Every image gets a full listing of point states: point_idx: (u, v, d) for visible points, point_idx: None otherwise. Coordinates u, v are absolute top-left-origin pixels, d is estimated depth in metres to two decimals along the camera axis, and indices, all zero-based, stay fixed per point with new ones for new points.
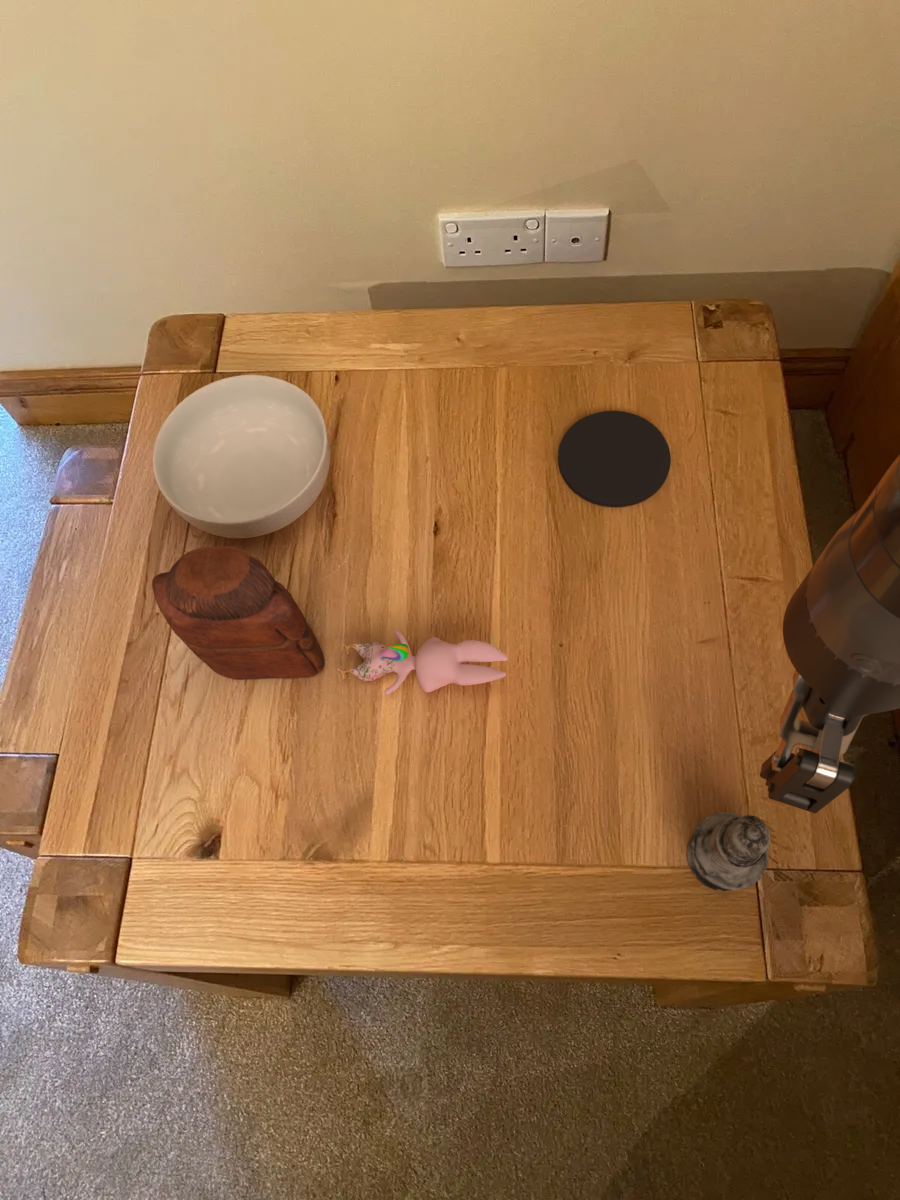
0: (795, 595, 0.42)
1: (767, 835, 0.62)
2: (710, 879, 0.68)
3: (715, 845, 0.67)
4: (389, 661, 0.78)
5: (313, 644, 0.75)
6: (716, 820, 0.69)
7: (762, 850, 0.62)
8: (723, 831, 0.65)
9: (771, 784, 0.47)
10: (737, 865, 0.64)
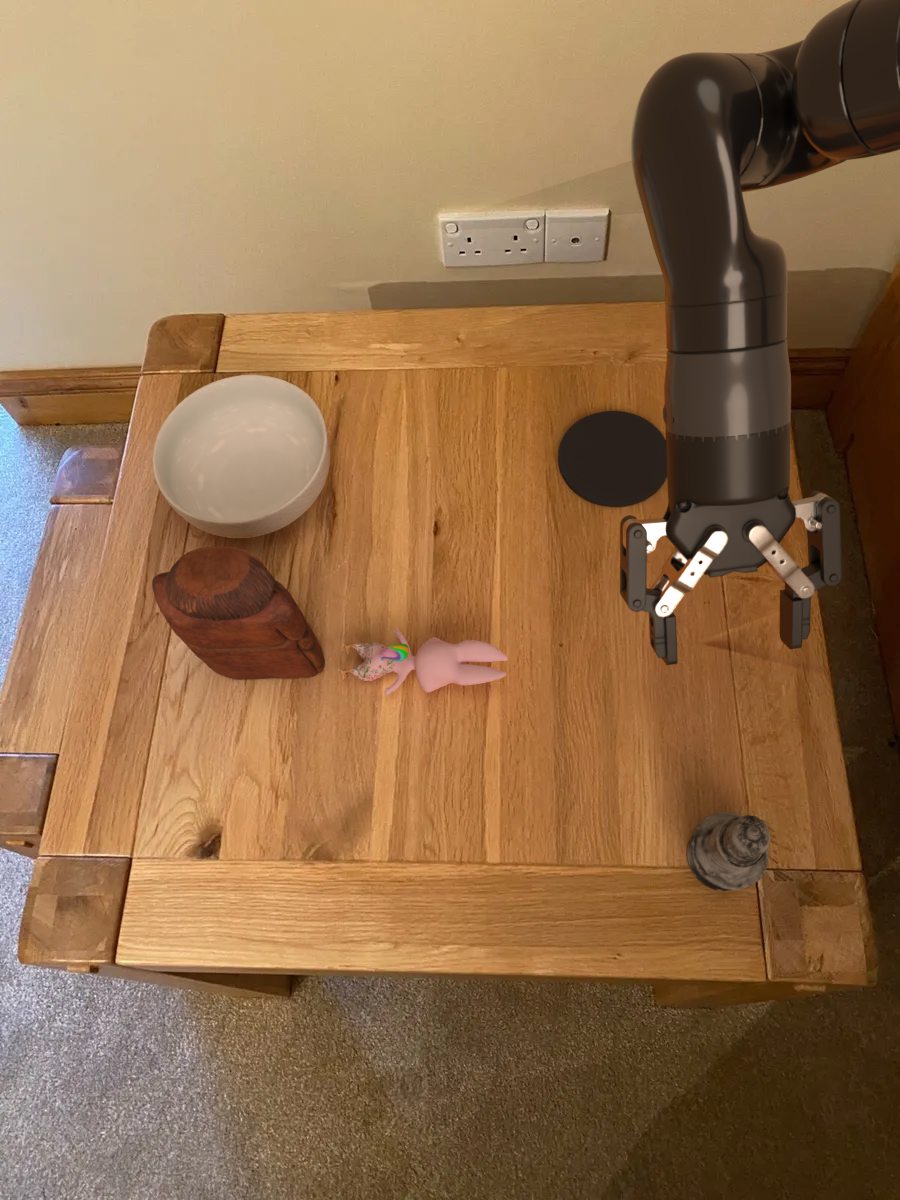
0: None
1: (767, 835, 0.62)
2: (710, 879, 0.68)
3: (715, 845, 0.67)
4: (389, 661, 0.78)
5: (313, 644, 0.75)
6: (716, 820, 0.69)
7: (762, 850, 0.62)
8: (723, 831, 0.65)
9: None
10: (737, 865, 0.64)
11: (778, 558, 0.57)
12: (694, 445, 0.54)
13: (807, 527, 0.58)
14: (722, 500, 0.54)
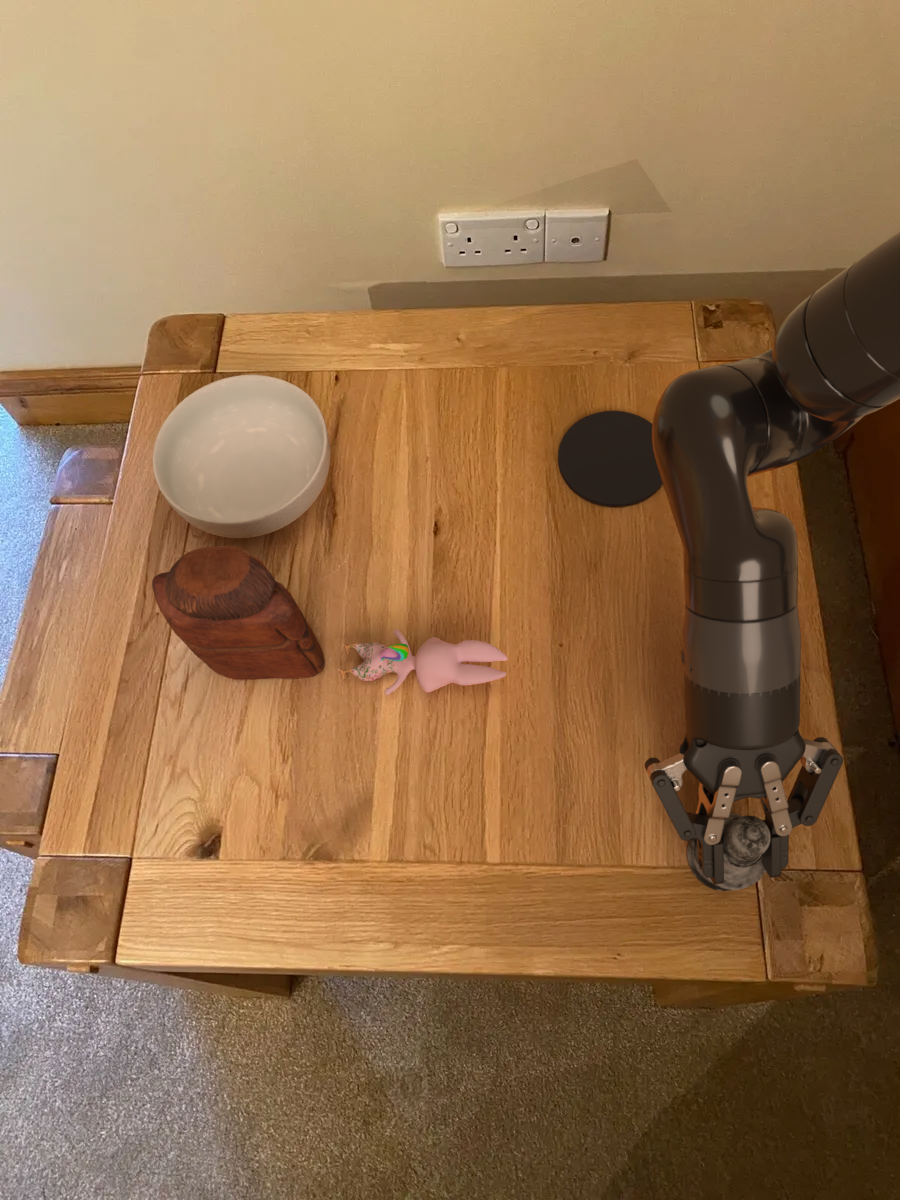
0: None
1: (767, 835, 0.62)
2: (710, 879, 0.68)
3: None
4: (389, 661, 0.78)
5: (313, 644, 0.75)
6: None
7: (762, 850, 0.62)
8: (723, 831, 0.65)
9: None
10: (737, 865, 0.64)
11: (775, 795, 0.61)
12: (710, 696, 0.58)
13: (806, 767, 0.62)
14: (736, 746, 0.58)
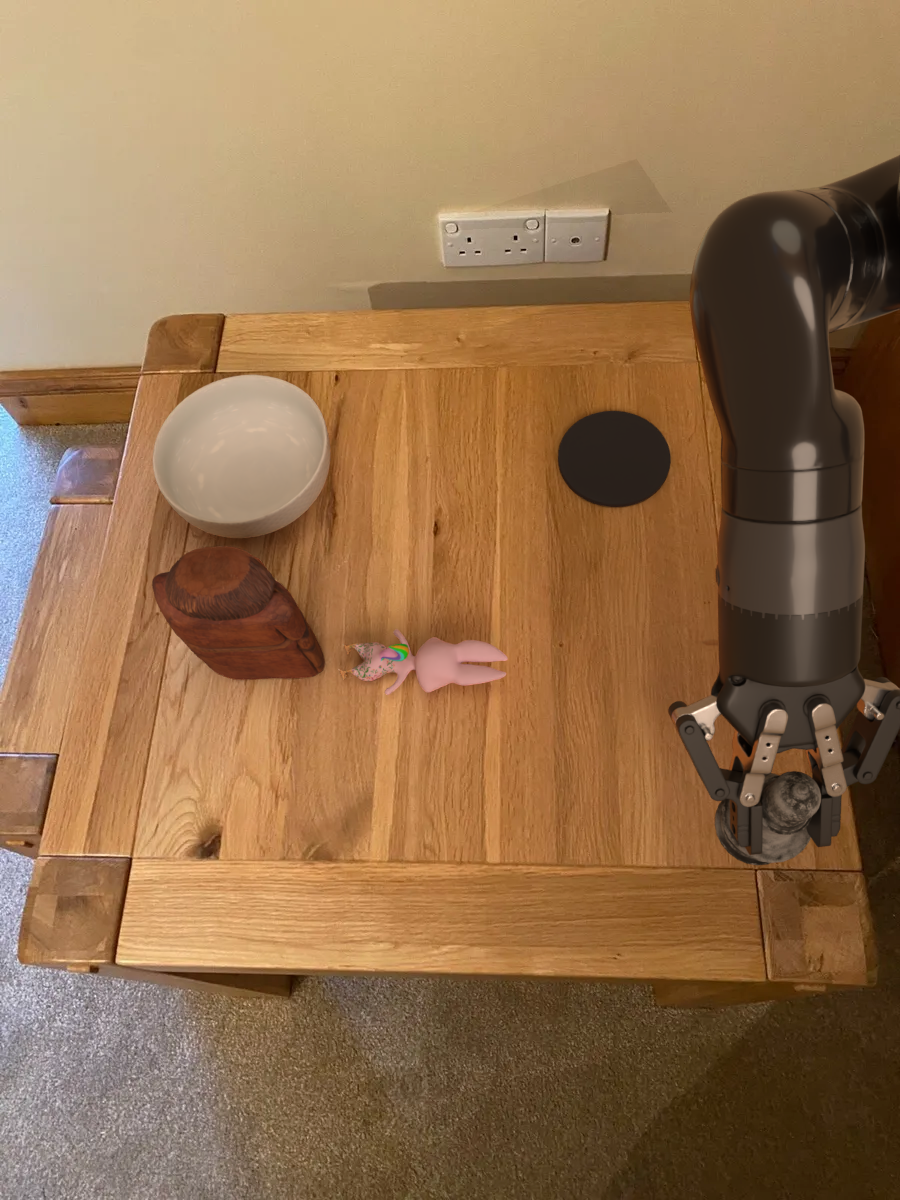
0: None
1: (817, 794, 0.51)
2: (744, 850, 0.57)
3: None
4: (389, 661, 0.78)
5: (313, 644, 0.75)
6: None
7: (811, 812, 0.51)
8: None
9: None
10: (778, 832, 0.54)
11: (828, 745, 0.51)
12: (753, 620, 0.47)
13: (865, 712, 0.51)
14: (784, 682, 0.47)
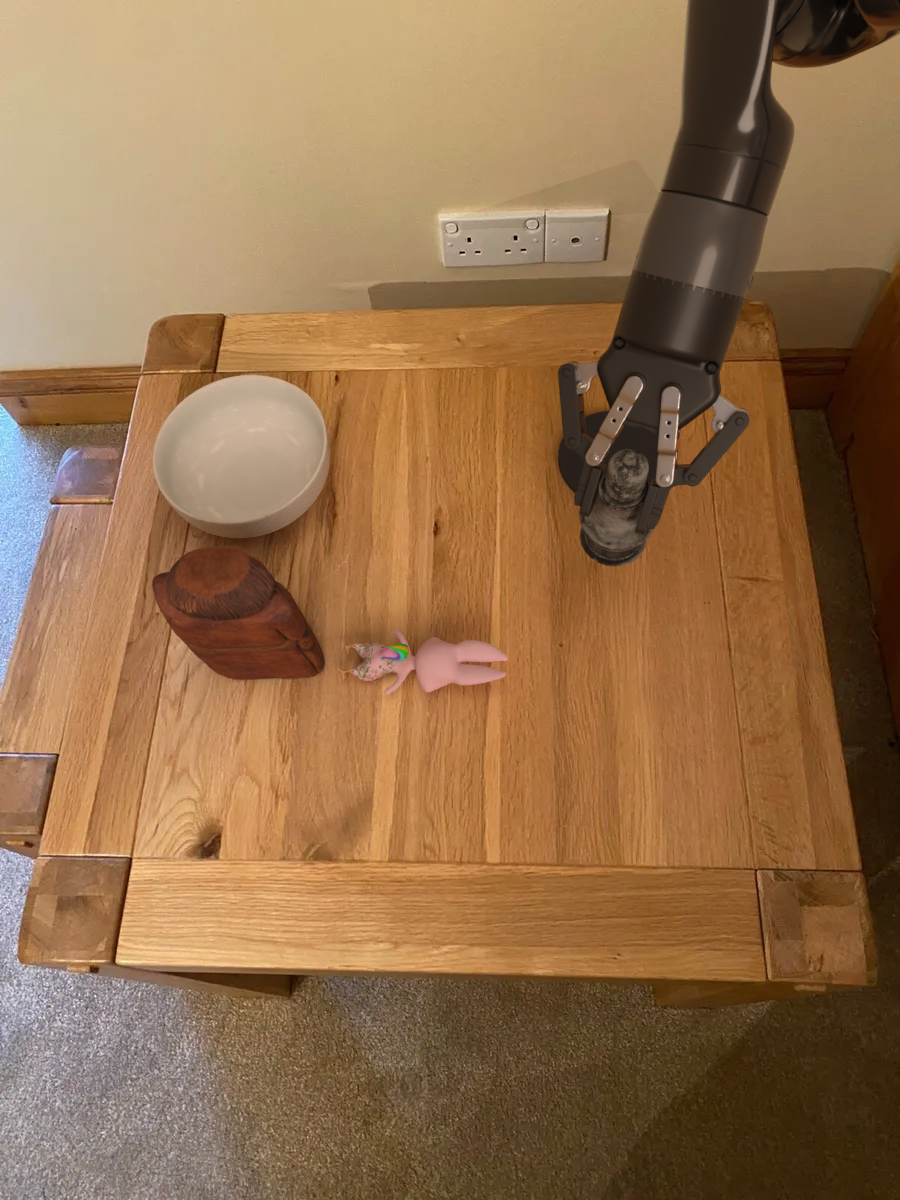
0: None
1: (642, 469, 0.60)
2: (584, 527, 0.67)
3: None
4: (389, 661, 0.78)
5: (313, 644, 0.75)
6: None
7: (630, 479, 0.60)
8: None
9: None
10: (607, 503, 0.63)
11: (668, 430, 0.60)
12: (640, 280, 0.57)
13: (712, 423, 0.60)
14: (642, 340, 0.57)
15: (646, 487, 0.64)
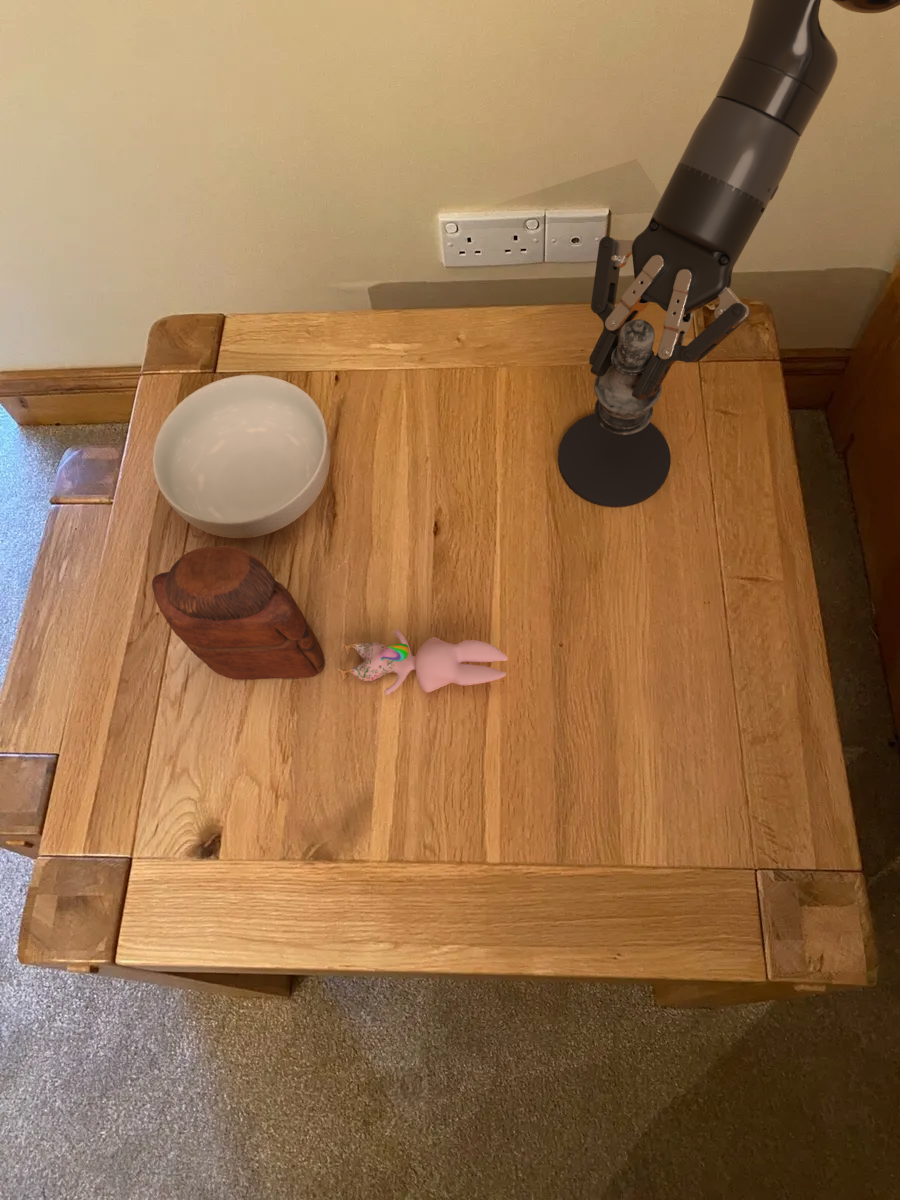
0: None
1: (647, 337, 0.71)
2: (596, 390, 0.78)
3: None
4: (389, 661, 0.78)
5: (313, 644, 0.75)
6: None
7: (634, 343, 0.71)
8: None
9: None
10: (615, 365, 0.74)
11: (675, 308, 0.70)
12: (678, 170, 0.67)
13: (715, 310, 0.69)
14: (667, 221, 0.67)
15: None
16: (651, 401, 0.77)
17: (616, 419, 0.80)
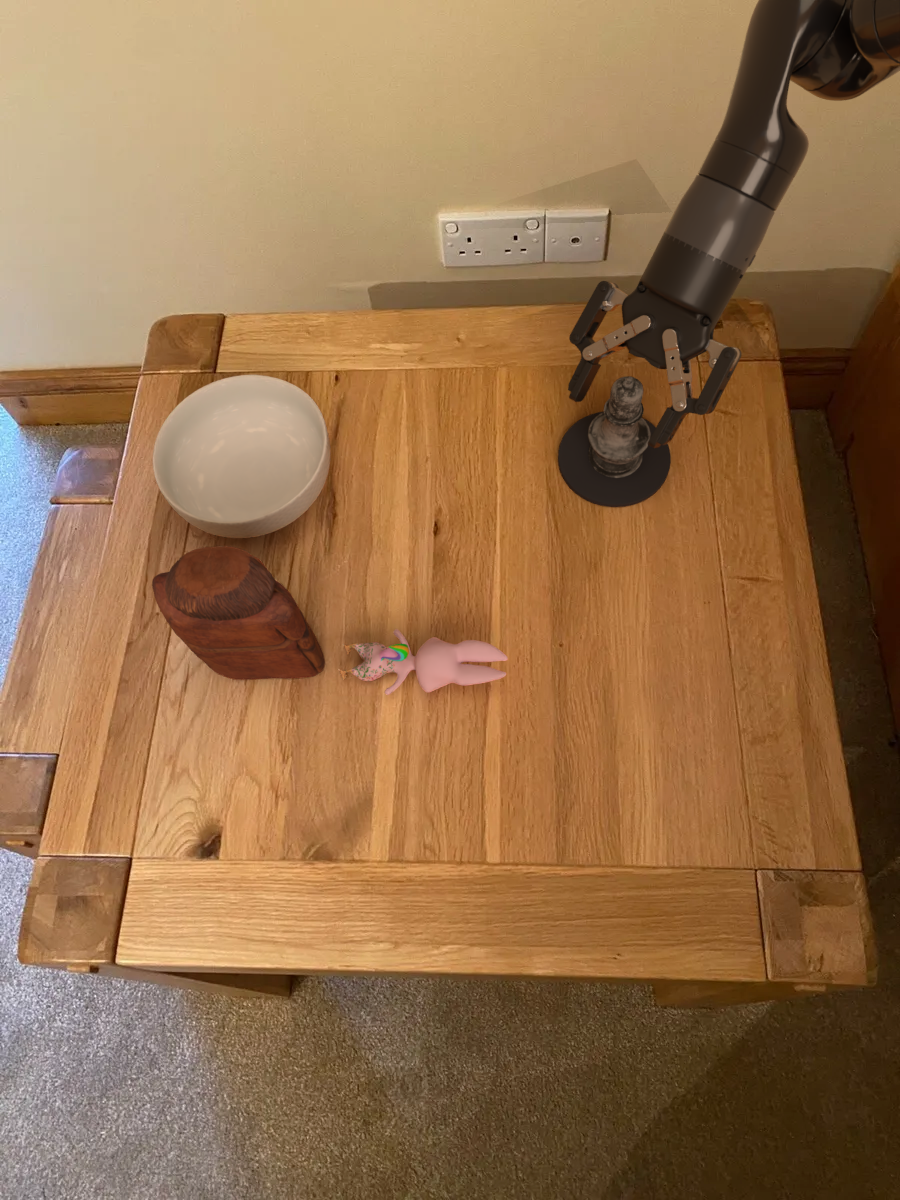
0: None
1: (636, 393, 0.77)
2: (590, 437, 0.84)
3: None
4: (389, 661, 0.78)
5: (313, 644, 0.75)
6: None
7: (624, 398, 0.77)
8: None
9: None
10: (607, 417, 0.80)
11: (673, 364, 0.75)
12: (664, 240, 0.73)
13: (709, 362, 0.75)
14: (654, 286, 0.73)
15: (641, 412, 0.80)
16: (640, 448, 0.83)
17: (608, 463, 0.87)
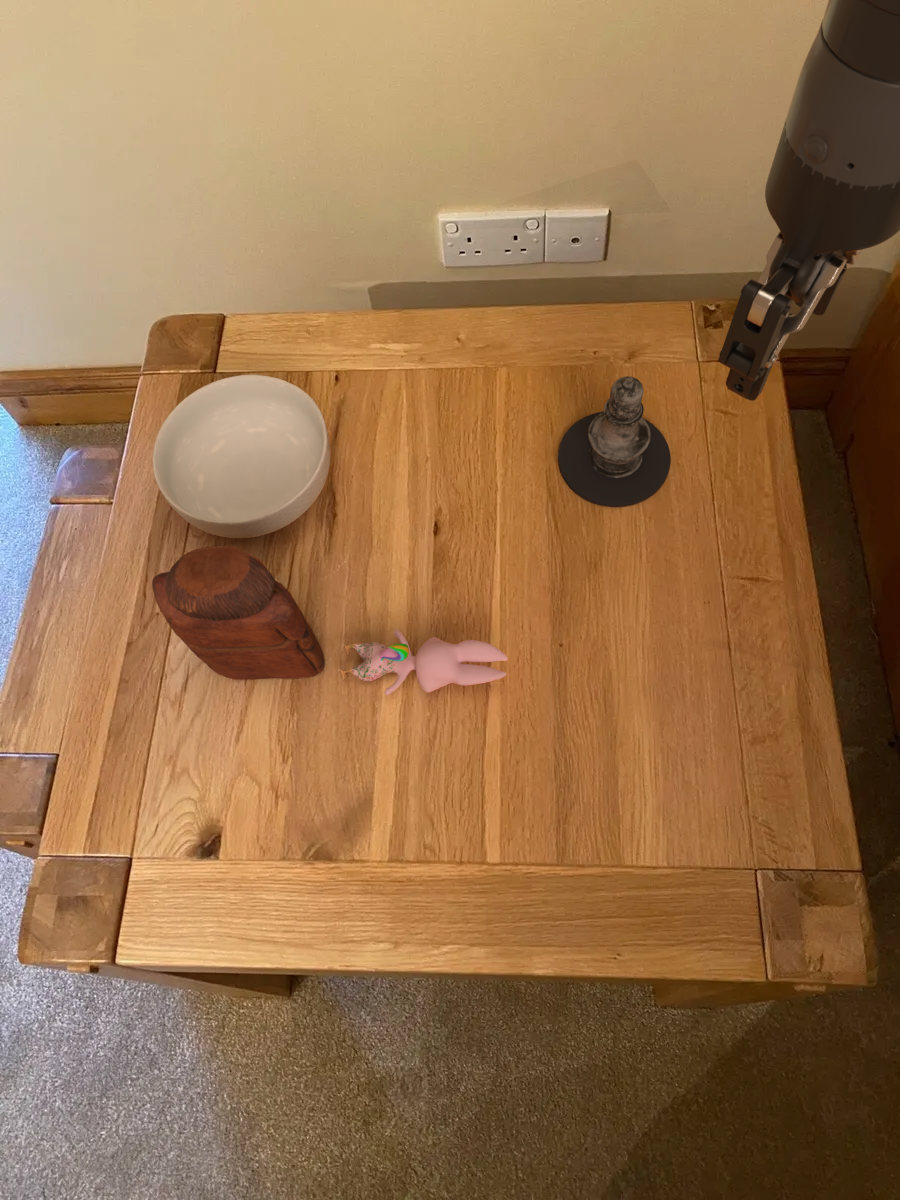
0: None
1: (636, 393, 0.77)
2: (590, 437, 0.84)
3: None
4: (389, 661, 0.78)
5: (313, 644, 0.75)
6: None
7: (624, 398, 0.77)
8: None
9: None
10: (607, 417, 0.80)
11: (859, 250, 0.52)
12: (878, 194, 0.42)
13: None
14: (883, 240, 0.45)
15: (641, 412, 0.80)
16: (640, 448, 0.83)
17: (608, 463, 0.87)
